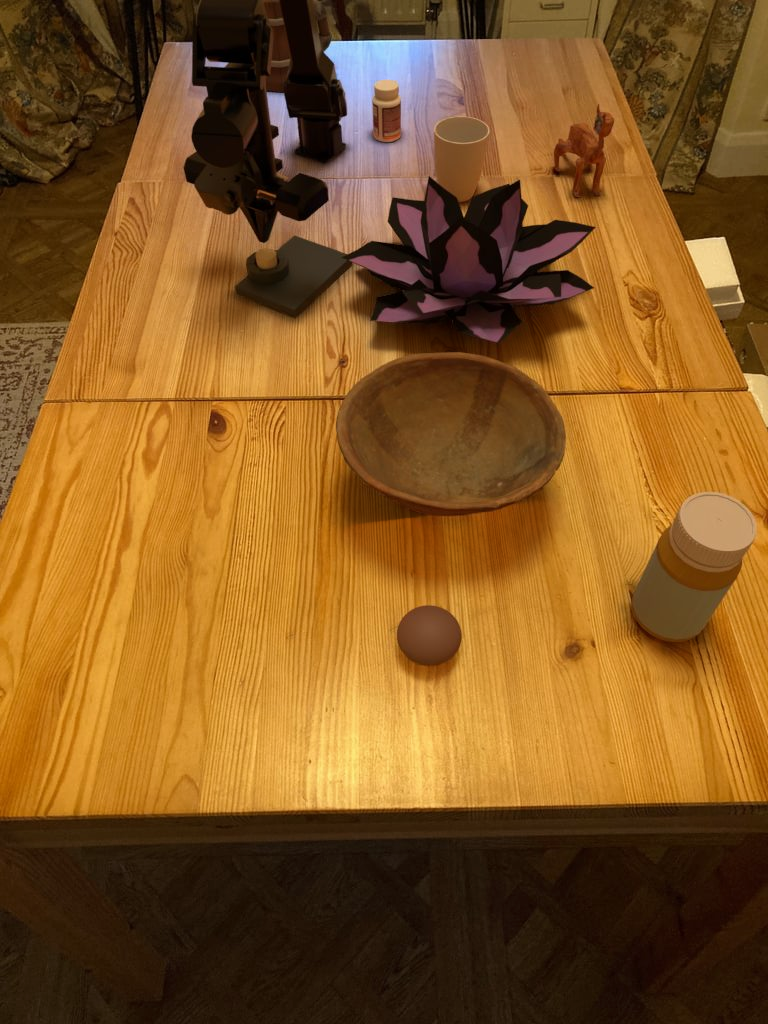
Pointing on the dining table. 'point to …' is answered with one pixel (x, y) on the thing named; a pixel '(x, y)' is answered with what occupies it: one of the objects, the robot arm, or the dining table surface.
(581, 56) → the dining table surface
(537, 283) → the decorative flower
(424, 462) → the bowl
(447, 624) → the brown flattened ball
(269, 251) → the button
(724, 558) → the bottle
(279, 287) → the dark flat slab piece
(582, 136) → the orange animal figurine
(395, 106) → the pill bottle
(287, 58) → the mug
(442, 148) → the cup
